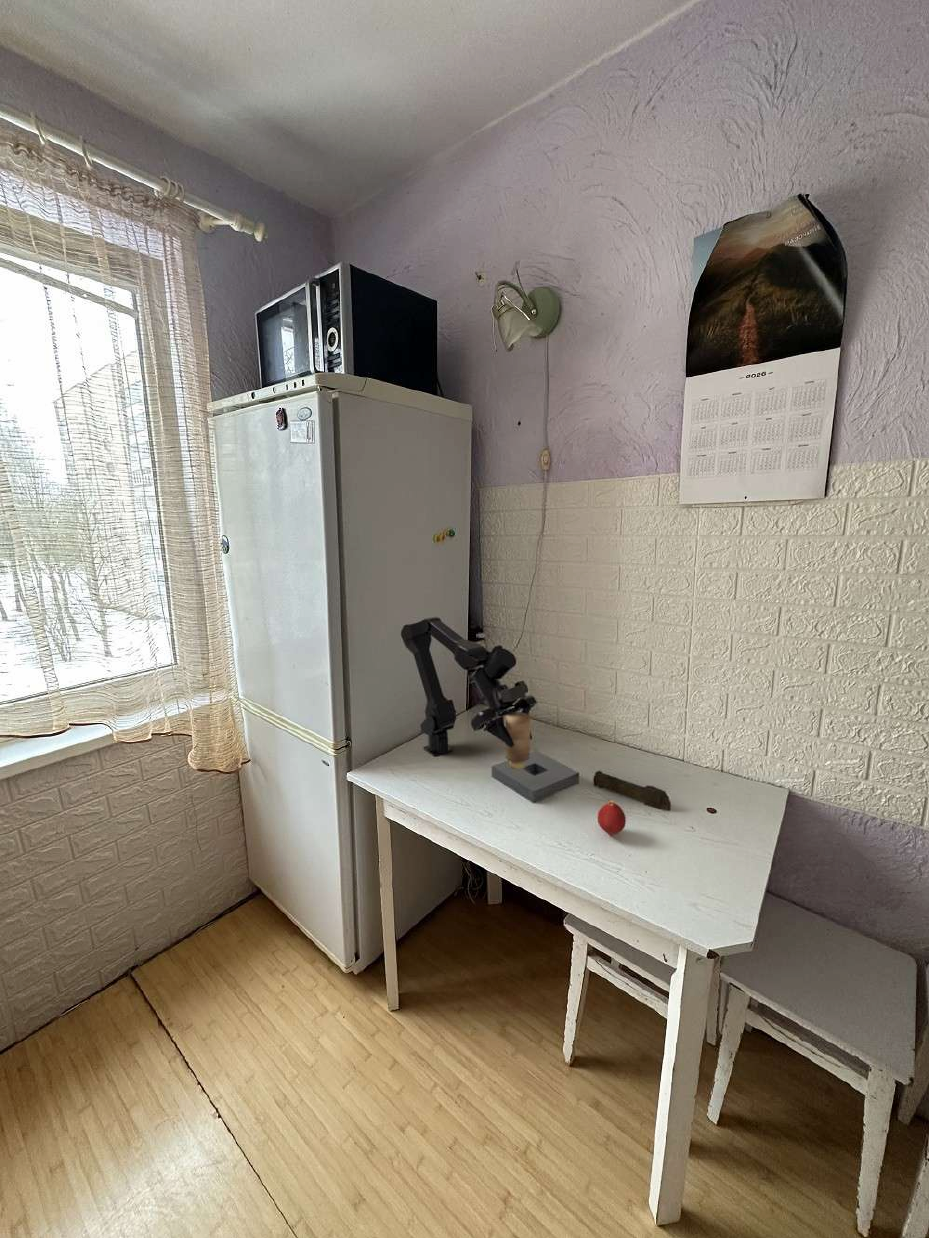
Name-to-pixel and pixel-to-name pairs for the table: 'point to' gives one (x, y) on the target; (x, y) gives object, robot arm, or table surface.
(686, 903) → the table surface
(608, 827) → the red pomegranate
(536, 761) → the socket block
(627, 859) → the table surface
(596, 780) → the hand tool
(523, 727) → the walnut pin
